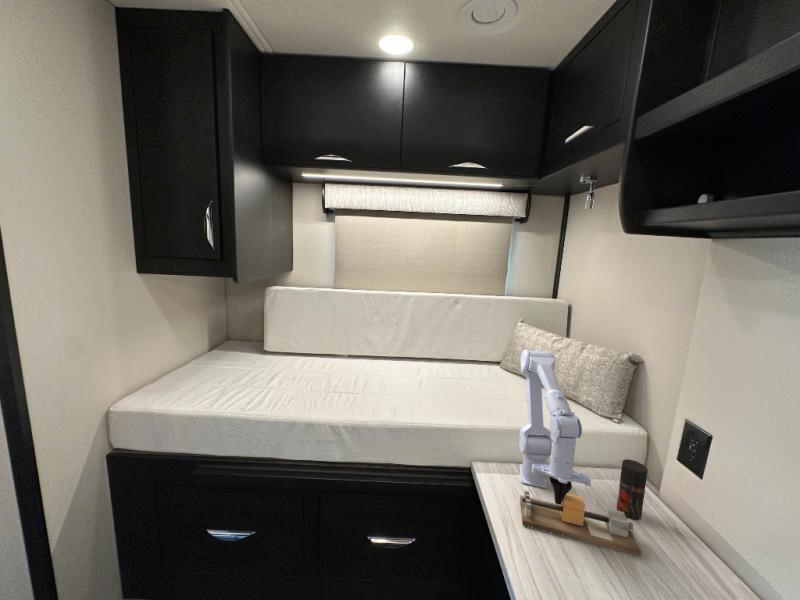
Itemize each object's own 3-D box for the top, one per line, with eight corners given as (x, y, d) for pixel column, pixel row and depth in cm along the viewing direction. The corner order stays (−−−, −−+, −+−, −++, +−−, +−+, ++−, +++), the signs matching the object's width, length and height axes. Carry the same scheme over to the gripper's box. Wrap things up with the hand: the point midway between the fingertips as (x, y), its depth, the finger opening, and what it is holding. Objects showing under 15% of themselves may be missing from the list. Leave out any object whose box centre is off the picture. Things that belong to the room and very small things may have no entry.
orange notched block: (559, 510, 89) (561, 491, 88) (579, 514, 88) (581, 495, 87) (562, 520, 85) (564, 501, 85) (582, 526, 84) (585, 505, 83)
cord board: (519, 499, 95) (521, 481, 95) (624, 525, 87) (627, 505, 86) (522, 525, 86) (524, 505, 85) (640, 556, 78) (643, 535, 77)
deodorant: (645, 522, 88) (652, 474, 87) (622, 518, 90) (628, 470, 88) (634, 506, 94) (640, 461, 92) (612, 503, 95) (618, 458, 94)
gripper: (535, 459, 84) (531, 505, 85) (596, 472, 80) (590, 519, 81) (532, 445, 91) (529, 488, 92) (588, 456, 86) (583, 500, 88)
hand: (557, 501), depth 87 cm, fingers closed
